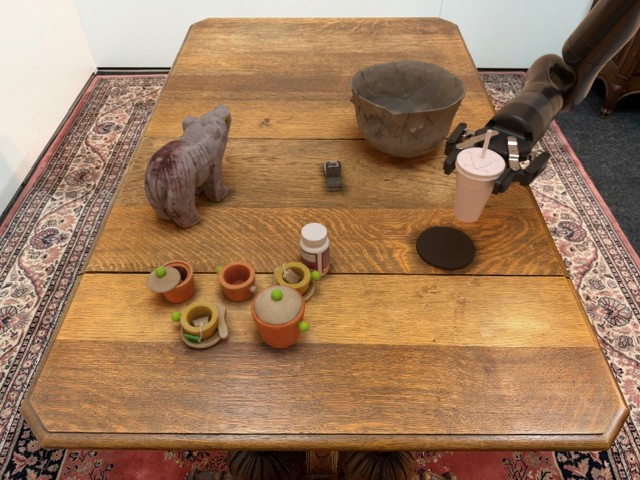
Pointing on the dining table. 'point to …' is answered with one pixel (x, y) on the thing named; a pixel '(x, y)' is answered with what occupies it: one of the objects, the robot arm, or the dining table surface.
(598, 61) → the robot arm
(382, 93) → the bowl
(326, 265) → the pill bottle
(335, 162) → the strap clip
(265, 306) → the toy tea set
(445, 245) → the coaster
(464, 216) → the smoothie
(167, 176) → the sculpture
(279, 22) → the dining table surface
